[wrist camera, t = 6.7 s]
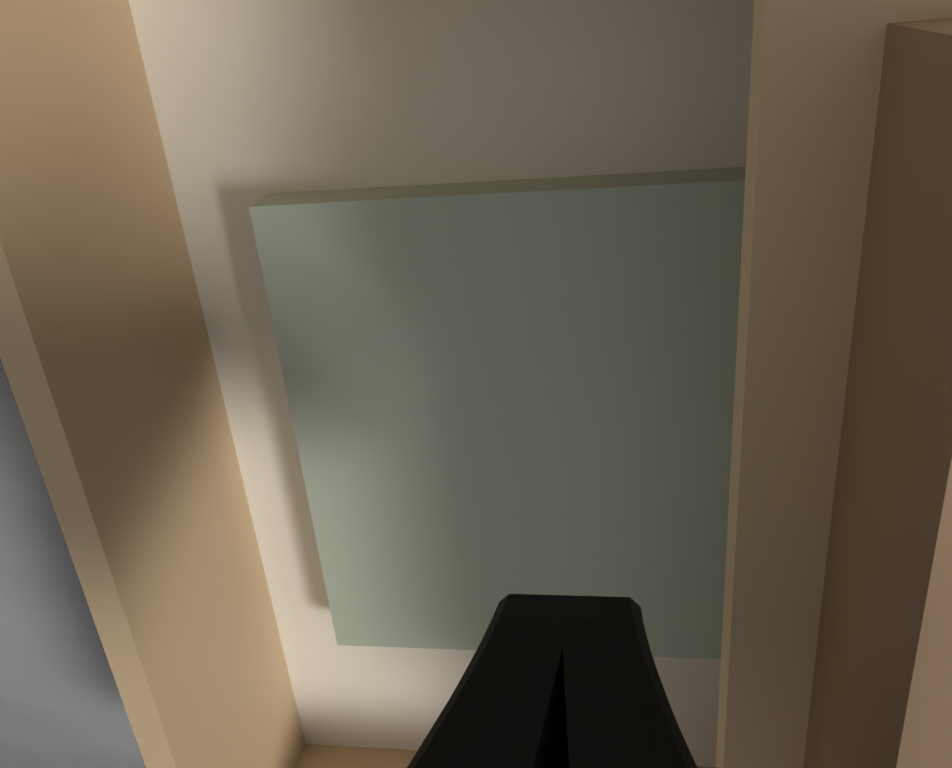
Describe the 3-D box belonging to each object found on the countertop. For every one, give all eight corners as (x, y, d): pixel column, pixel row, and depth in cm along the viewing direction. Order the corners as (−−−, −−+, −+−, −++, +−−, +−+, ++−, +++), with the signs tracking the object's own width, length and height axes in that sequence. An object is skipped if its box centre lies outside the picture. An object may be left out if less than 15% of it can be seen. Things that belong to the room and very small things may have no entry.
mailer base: (1224, 788, 16) (1436, 1070, 12) (296, 737, 19) (210, 947, 15) (1675, -286, 9) (2573, -505, 5) (93, -97, 12) (-175, -132, 8)
